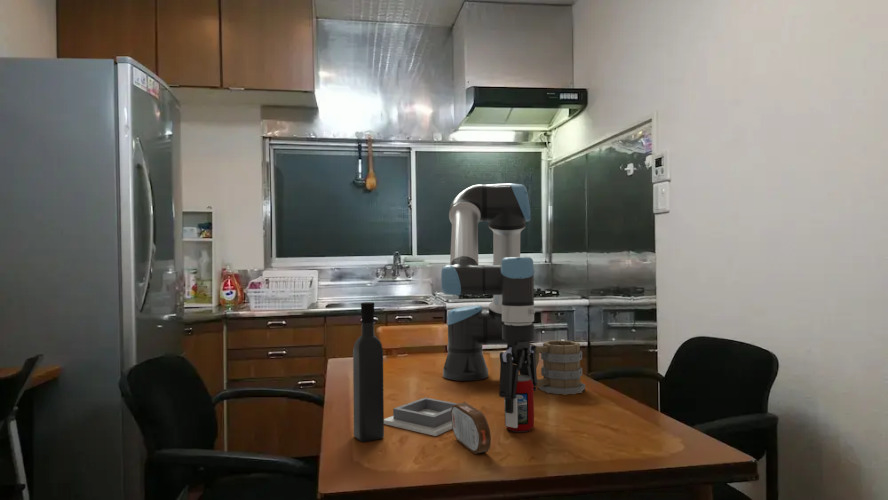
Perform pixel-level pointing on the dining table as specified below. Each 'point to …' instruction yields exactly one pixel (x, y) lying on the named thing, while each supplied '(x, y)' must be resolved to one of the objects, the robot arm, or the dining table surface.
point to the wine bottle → (368, 380)
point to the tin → (470, 427)
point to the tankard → (560, 367)
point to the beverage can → (524, 404)
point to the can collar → (423, 416)
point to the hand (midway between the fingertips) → (519, 422)
